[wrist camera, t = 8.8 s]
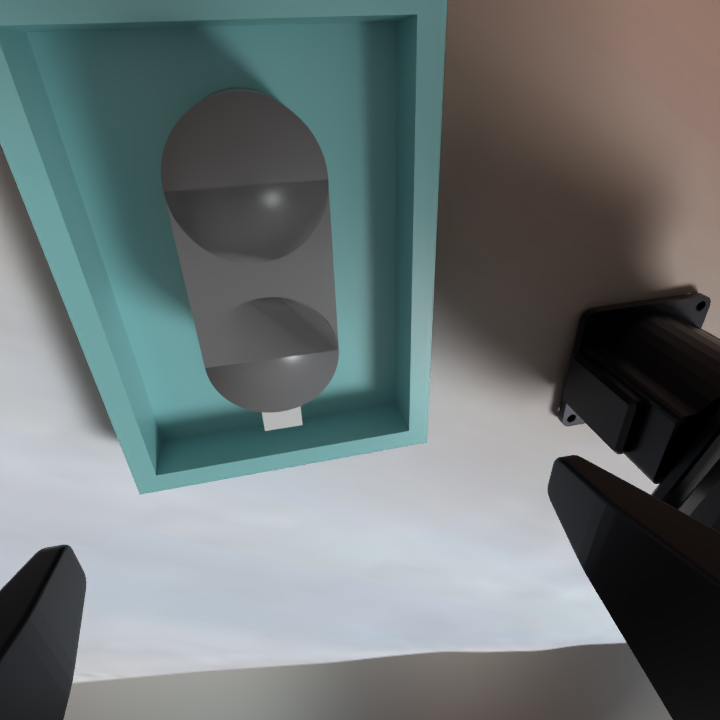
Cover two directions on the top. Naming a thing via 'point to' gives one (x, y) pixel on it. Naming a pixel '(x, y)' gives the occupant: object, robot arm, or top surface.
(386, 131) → the desk tray
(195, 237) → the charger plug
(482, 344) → the top surface
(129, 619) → the top surface
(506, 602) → the top surface
